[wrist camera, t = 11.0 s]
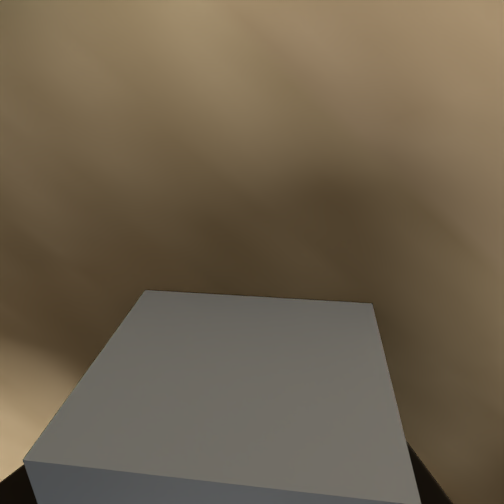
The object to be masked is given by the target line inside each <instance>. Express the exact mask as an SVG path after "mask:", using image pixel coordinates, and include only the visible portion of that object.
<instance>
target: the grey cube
mask: <svg viewBox="0 0 504 504" xmlns="http://www.w3.org/2000/svg"><path fill="white" fill-rule="evenodd" d="M23 462H24V465H25V468H26V471H27V474H28V477H29V480H30V483H31V486H32V488H33V491H34V494H35V497H36V500H37V503H38V504H421V501H420V496H419V492H418V488H417V484H416V480H415V476H414V472H413V468H412V464H411V460H410V456H409V451H408V447H407V443H406V439H405V435H404V431H403V427H402V423H401V419H400V415H399V411H398V407H397V402H396V398H395V394H394V390H393V386H392V382H391V378H390V374H389V370H388V366H387V362H386V357H385V353H384V349H383V345H382V341H381V337H380V333H379V329H378V325H377V321H376V317H375V312H374V308H373V304H372V303H357V302H340V301H323V300H306V299H289V298H272V297H255V296H238V295H221V294H205V293H188V292H171V291H154V290H145V291H144V292H143V294H142V295H141V296H140V298H139V299H138V301H137V302H136V303H135V305H134V306H133V308H132V309H131V310H130V312H129V313H128V314H127V316H126V317H125V319H124V320H123V321H122V323H121V324H120V326H119V327H118V328H117V330H116V331H115V333H114V334H113V335H112V337H111V338H110V339H109V341H108V342H107V344H106V345H105V346H104V348H103V349H102V351H101V352H100V353H99V355H98V356H97V357H96V359H95V360H94V362H93V363H92V364H91V366H90V367H89V369H88V370H87V371H86V373H85V374H84V376H83V377H82V378H81V380H80V381H79V382H78V384H77V385H76V387H75V388H74V389H73V391H72V392H71V394H70V395H69V396H68V398H67V399H66V401H65V402H64V403H63V405H62V406H61V407H60V409H59V410H58V412H57V413H56V414H55V416H54V417H53V419H52V420H51V421H50V423H49V424H48V426H47V427H46V428H45V430H44V431H43V432H42V434H41V435H40V437H39V438H38V439H37V441H36V442H35V444H34V445H33V446H32V448H31V449H30V450H29V452H28V453H27V455H26V456H25V457H24V459H23Z"/></svg>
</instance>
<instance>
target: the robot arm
mask: <svg viewBox="0 0 504 504" xmlns="http://www.w3.org/2000/svg"><path fill="white" fill-rule="evenodd" d="M406 443H407V447H408V451H409V456H410V460H411V464H412V468H413V472H414V476H415V480H416V484H417V488H418V492H419V496H420V501H421V504H453V503H452V501H451V500H450V499H449V497H448V496H447V495H446V493H445V492H444V491H443V489H442V488H441V487H440V485H439V484H438V483H437V481H436V480H435V479H434V477H433V476H432V475H431V473H430V472H429V471H428V469H427V468H426V467H425V465H424V464H423V463H422V461H421V460H420V458H419V457H418V456H417V454H416V453H415V452H414V450H413V449H412V448H411V446H410V445H409V444H408V442H407V441H406ZM0 504H38V503H37V500H36V497H35V494H34V491H33V488H32V486H31V483H30V480H29V477H28V474H27V471H26V468H25V465H22V466H21V467H20V468H18V469H17V470H16V471H14V472H13V473H12V474H11V475H9V476H8V477H7V478H5V479H4V480H3V481H1V482H0Z"/></svg>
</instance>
